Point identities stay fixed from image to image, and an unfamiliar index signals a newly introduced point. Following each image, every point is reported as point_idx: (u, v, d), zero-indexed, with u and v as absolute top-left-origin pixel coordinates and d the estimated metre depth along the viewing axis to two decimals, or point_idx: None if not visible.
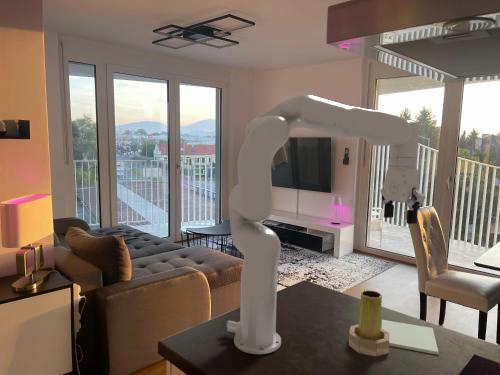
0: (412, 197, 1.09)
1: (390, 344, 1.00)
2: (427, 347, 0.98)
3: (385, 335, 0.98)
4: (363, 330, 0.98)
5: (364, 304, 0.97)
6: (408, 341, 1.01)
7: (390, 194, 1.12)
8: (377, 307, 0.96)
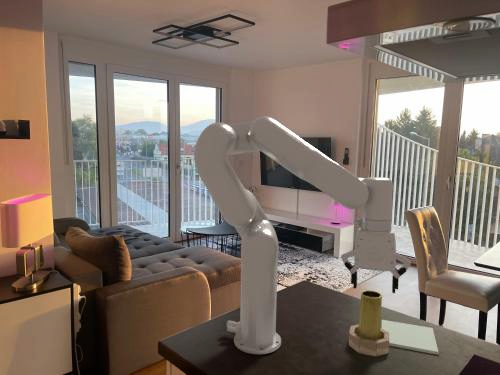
0: None
1: (390, 344, 1.00)
2: (427, 347, 0.98)
3: (385, 335, 0.98)
4: (363, 330, 0.98)
5: (364, 304, 0.97)
6: (408, 341, 1.01)
7: (369, 262, 0.95)
8: (377, 307, 0.96)
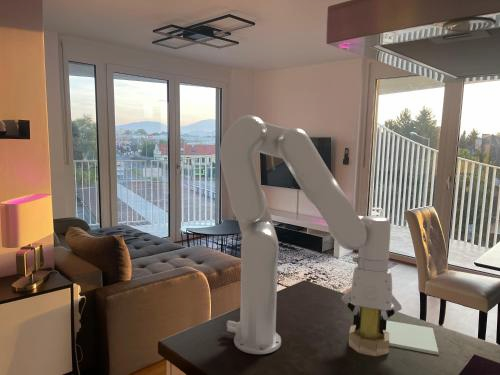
0: None
1: (390, 344, 1.00)
2: (427, 347, 0.98)
3: (385, 335, 0.98)
4: (363, 330, 0.98)
5: None
6: (408, 341, 1.01)
7: (365, 301, 0.96)
8: None
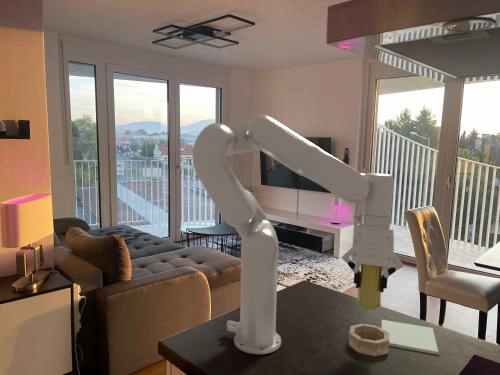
0: None
1: (390, 344, 1.00)
2: (427, 347, 0.98)
3: (385, 335, 0.98)
4: (364, 288, 0.97)
5: None
6: (408, 341, 1.01)
7: (366, 258, 0.95)
8: None
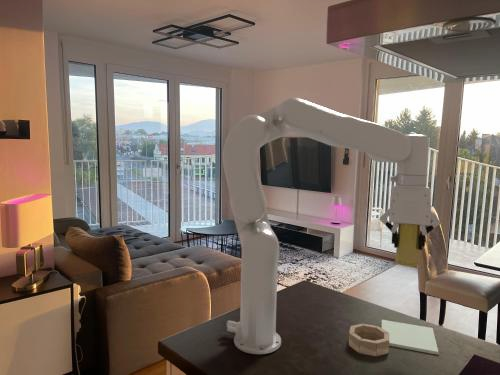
0: None
1: (390, 344, 1.00)
2: (427, 347, 0.98)
3: (385, 335, 0.98)
4: (402, 247, 1.00)
5: None
6: (408, 341, 1.01)
7: (404, 217, 0.98)
8: None
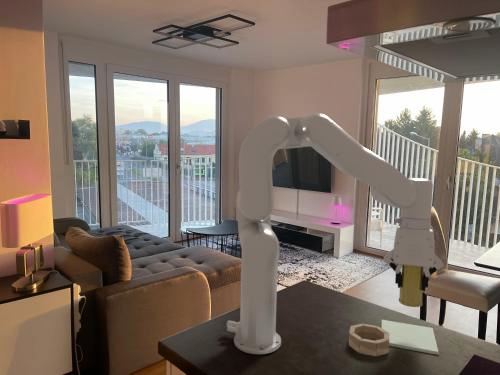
0: None
1: (390, 344, 1.00)
2: (427, 347, 0.98)
3: (385, 335, 0.98)
4: (406, 288, 1.02)
5: None
6: (408, 341, 1.01)
7: (408, 259, 1.00)
8: None
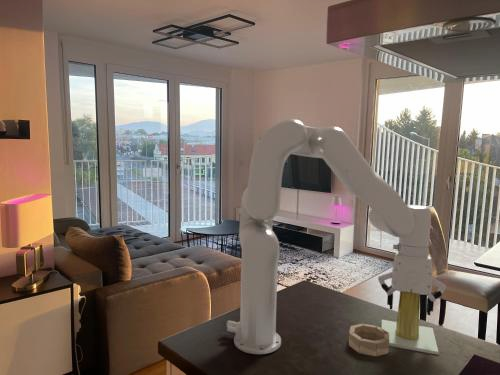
0: None
1: (390, 344, 1.00)
2: (427, 347, 0.98)
3: (385, 335, 0.98)
4: (403, 320, 1.02)
5: (404, 295, 1.02)
6: (408, 341, 1.01)
7: (406, 286, 1.01)
8: (417, 298, 1.01)
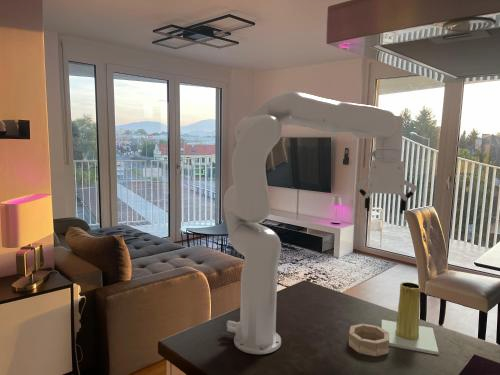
0: None
1: (390, 344, 1.00)
2: (427, 347, 0.98)
3: (385, 335, 0.98)
4: (403, 320, 1.02)
5: (404, 295, 1.02)
6: (408, 341, 1.01)
7: (381, 187, 1.12)
8: (416, 297, 1.01)
